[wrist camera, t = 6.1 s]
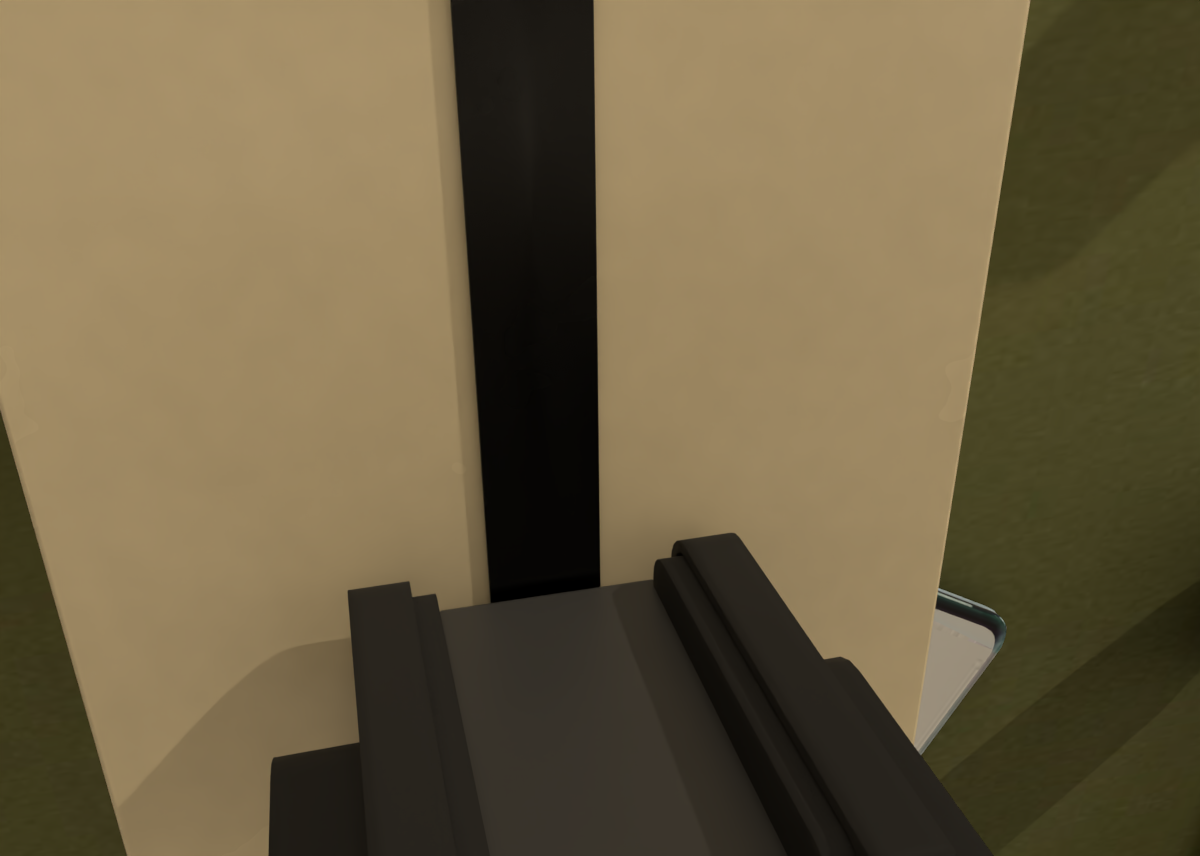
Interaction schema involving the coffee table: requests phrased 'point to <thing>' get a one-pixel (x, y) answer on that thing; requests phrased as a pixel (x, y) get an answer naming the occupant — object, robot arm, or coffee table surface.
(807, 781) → the robot arm
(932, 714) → the smartphone
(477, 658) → the slider
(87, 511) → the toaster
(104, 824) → the coffee table surface
